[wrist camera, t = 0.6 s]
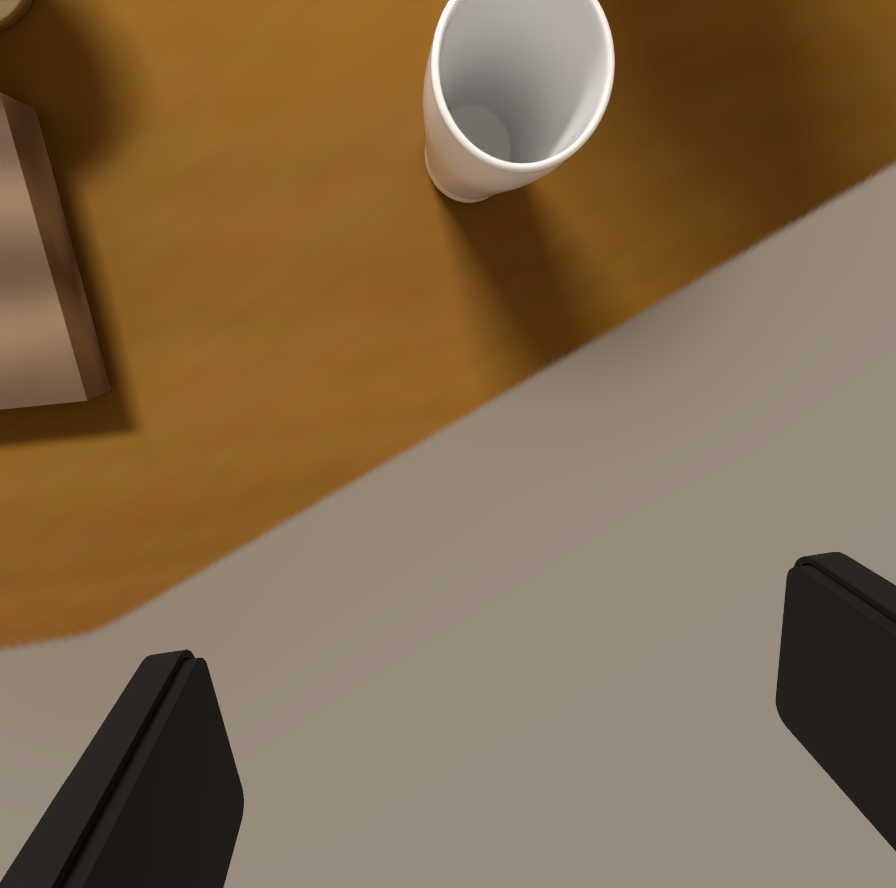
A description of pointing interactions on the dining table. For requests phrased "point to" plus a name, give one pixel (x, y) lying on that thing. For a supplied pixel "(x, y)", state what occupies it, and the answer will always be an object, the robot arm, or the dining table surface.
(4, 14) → the bobbin
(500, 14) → the drinking glass
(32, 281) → the notched board
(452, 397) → the dining table surface
